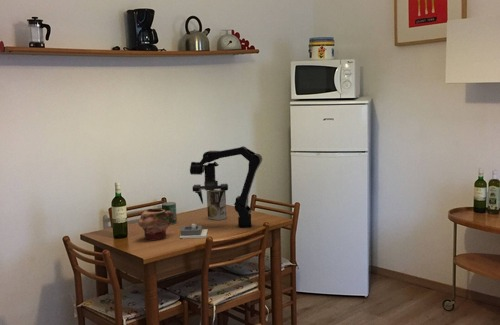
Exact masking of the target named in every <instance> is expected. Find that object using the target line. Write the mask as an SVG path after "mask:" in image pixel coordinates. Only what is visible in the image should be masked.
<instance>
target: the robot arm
mask: <svg viewBox="0 0 500 325" xmlns="http://www.w3.org/2000/svg"><path fill="white" fill-rule="evenodd" d="M233 156H242V157H243V158H244V159H246V160H247V161H248V170H247V174H246V177H245V180H244V183H243V187H242V189H241V193H240V195H238V196H236V198H235V201H234V204H233V206H234V210H235V211H236V212H237V214H238V217H237V218H238V219H237V220H238V222H237V223H238V224H237V225H238V227H239V228H252V227H253V226H252V211H253V209H252V207H250V206H249V195H250V192H251V189H252V185H253V182H254V179H255V176H256V174H257V172H258V169H259V167H260V165H261V164H262V162H263V157H262V155H261V154H259V153H255V151H253V150H251V149H248V147H246V146H240V147H234V148H230V149H224V150H208V151H205V152H204V153H203V154H202V158H201V160H200V161H191V162H190V167H189V174H190V175H194V176H195V175H196V176H197V175H201V176H202V175H203V173H204V185H201V184H193V185H192V192H195V193H196V194H197V195H198V197H199V199H200V202H201V205H202V204H204V200H203V199H204V198H203V193H202V192H203V191H202V190H204V191H205V192H207V191H209V190H211V191H213V190H220V197H219V203H220V201H221V197H222V195H223V192H225V193H226V191H228V190H229V184H228V183H221V184H219V183H218V180H216V167H218V166H219V164H218V162H217V160H220V159H223V158H229V157H233Z"/></svg>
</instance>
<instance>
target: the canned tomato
mask: <svg viewBox="0 0 500 325" xmlns="http://www.w3.org/2000/svg"><path fill="white" fill-rule="evenodd" d="M161 209H162V210H165V211H166V212H167V211H170V212H172V213H173V215H174V219H173V221H172V223H171V224H170V225H175V223H176V224H177V223H178V220H177V218H178V217H177V203H176V202H174V201H173V202H172V201H170V202H169V201H167V202H163V203H161ZM168 219H169V222H170V221H171V216H170V215H168Z"/></svg>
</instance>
